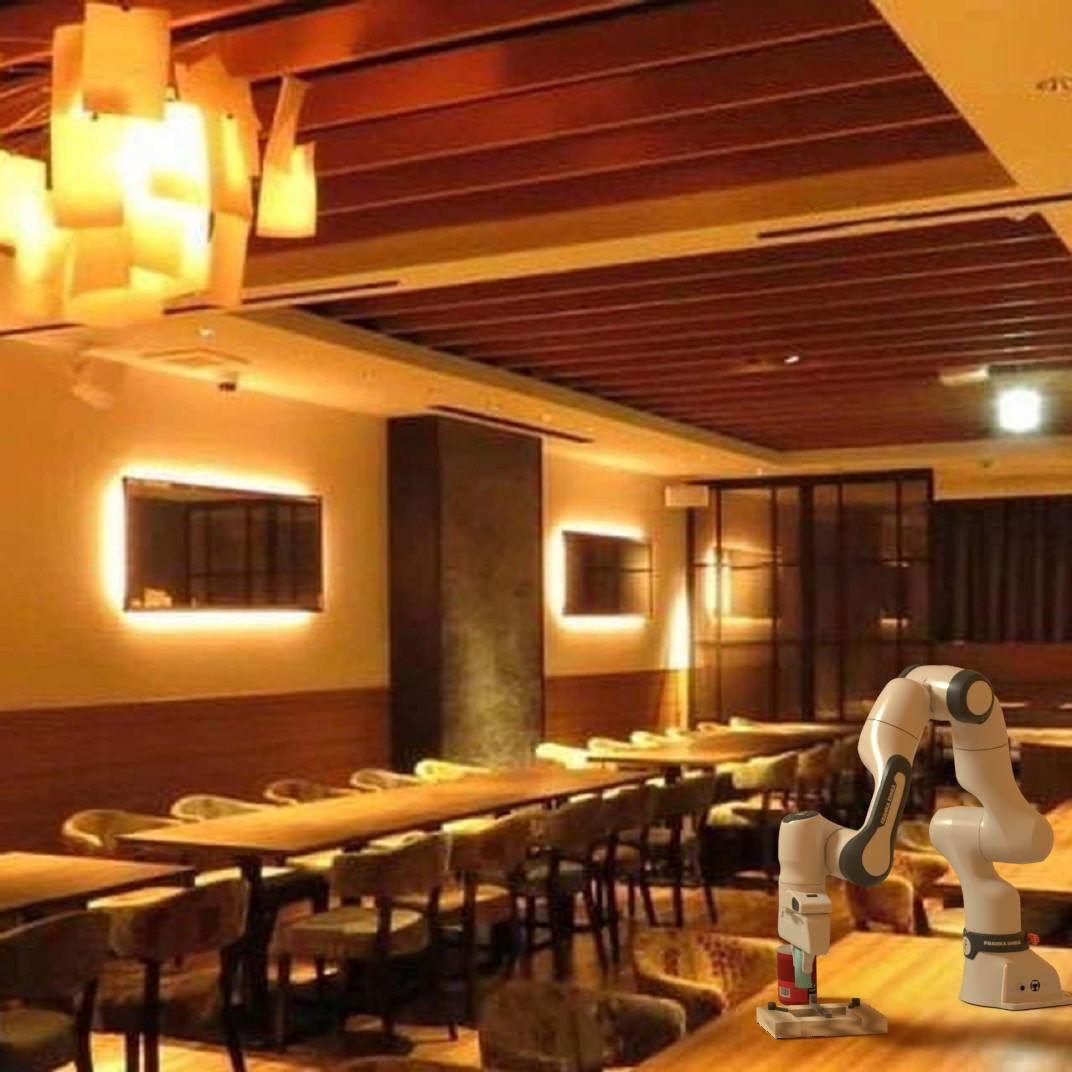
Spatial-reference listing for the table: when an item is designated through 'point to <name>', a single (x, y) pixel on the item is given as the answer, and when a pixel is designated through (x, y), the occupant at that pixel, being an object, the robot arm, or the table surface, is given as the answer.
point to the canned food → (792, 979)
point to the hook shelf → (821, 1019)
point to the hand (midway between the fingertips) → (802, 970)
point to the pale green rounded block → (800, 977)
